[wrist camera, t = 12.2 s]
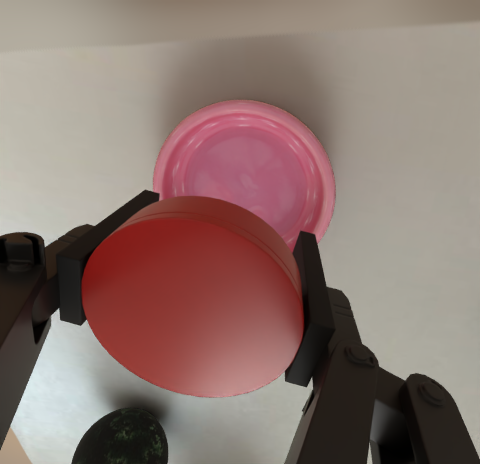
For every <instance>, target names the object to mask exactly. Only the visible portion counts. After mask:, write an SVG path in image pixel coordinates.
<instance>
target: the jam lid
mask: <svg viewBox="0 0 480 464" xmlns="http://www.w3.org/2000/svg"><path fill="white" fill-rule="evenodd" d="M82 305H83V309H84V313H85V316H86V318H87V321H88V323H89V326H90V327H91V329H92V331H93V333H94V335H95V336H96V338H97V339H98V340H99V342H100V343H101V345H102V346H103V347H104V348H105V349H106V350H107V352H108V353H109V354H110V355H111V356H112V357H113V358H114V359H116V360H117V361H118V362H119V363H120V364H121V365H123V366H124V367H125V368H126V369H128V370H129V371H131V372H132V373H134V374H135V375H137V376H139V377H140V378H142V379H144V380H146V381H148V382H150V383H152V384H154V385H157V386H159V387H161V388H164V389H167V390H170V391H173V392H177V393H181V394H185V395H191V396H198V397H229V396H236V395H240V394H245V393H248V392H251V391H254V390H257V389H259V388H261V387H263V386H265V385H267V384H269V383H271V382H272V381H273V380H275V379H276V378H278V377H279V376H280V375H281V374H282V373H283V372H284V371H286V369H287V368H288V367H289V366H290V364H291V363H292V362H293V360H294V358H295V356H296V354H297V351H298V349H299V347H300V344H301V342H302V339H303V333H304V311H303V299H302V287H301V279H300V273H299V269H298V266H297V263H296V261H295V258H294V256H293V254H292V252H291V251H290V249H289V247H288V246H287V244H286V243H285V242H284V240H283V239H282V237H281V236H280V235H279V234H278V233H277V232H276V231H275V230H274V229H273V228H272V227H271V226H270V225H269V224H267V223H266V222H265V221H264V220H263V219H261V218H260V217H258V216H257V215H255V214H253V213H252V212H250V211H249V210H247V209H244V208H242V207H240V206H238V205H236V204H233V203H230V202H227V201H224V200H221V199H216V198H211V197H205V196H178V197H173V198H168V199H164V200H161V201H158V202H155V203H152V204H150V205H148V206H147V207H145V208H143V209H141V210H140V211H138V212H137V213H136V214H134V215H133V216H132V217H131V218H129V219H128V220H127V221H126V222H125V223H123V224H122V225H121V226H120V227H119V228H117V229H116V230H115V231H114V232H113V233H112V234H110V235H109V236H108V237H107V238H106V239H104V240H103V241H102V242H101V244H100V245H99V246H98V247H97V248H96V249H95V250H94V252H93V253H92V255H91V256H90V258H89V260H88V262H87V264H86V267H85V269H84V273H83V277H82Z"/></svg>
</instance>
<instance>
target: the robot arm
mask: <svg viewBox="0 0 480 464" xmlns="http://www.w3.org/2000/svg"><path fill="white" fill-rule="evenodd" d="M159 197H160V193H156V192H152V191H148V190H144V191H143V192H142V193H140V194H139V195H137V196H136V197H135V198H133V199H132V200H130V201H129V202H128V203H126V204H125V205H123V206H122V207H121V208H119V209H118V210H116V211H115V212H114V213H112V214H111V215H110V216H108V217H107V218H105V219H104V220H103V221H101V222H100V223H98V224H97V225H96V226H92V225H89V224H86V225H82V226H79V227H76V228H74V229H72V230H71V231H69V232H67V233H66V234H65V235H63V236H61V237H60V238H58V240H55V241H54V242H52V243H51V244H49V245H48V246H46V247H45V246H44V240H43V238H42V237H41V236H39V235H37V234H34V233H28V232H16V233H10V234H5V235H2V236H0V450H1V447H2V445H3V442H4V440H5V437H6V435H7V432H8V430H9V428H10V425H11V423H12V420H13V418H14V415H15V413H16V410H17V408H18V405H19V403H20V401H21V398H22V396H23V393H24V391H25V388H26V386H27V383H28V381H29V378H30V376H31V373H32V371H33V369H34V366H35V364H36V361H37V359H38V356H39V354H40V351H41V349H42V346H43V344H44V342H45V339H46V337H47V334H48V332H49V329H50V327H51V315H52V314H53V313H54V312H55V311H56V310H57V309H58V308H59V310H60V320H62V321H66V322H69V323H73V324H77V325H80V326H81V325H82V324H83V323H84V322H85V321H86V320H87V318H86V316H85V313H84V309H83V305H82V277H83V273H84V269H85V267H86V264H87V262H88V260H89V258H90V256H91V255H92V253H93V252H94V250H95V249H96V248H97V247H98V246H99V245H100V244H101V242H102V241H103V240H104V239H106V238H107V237H108V236H109V235H110V234H112V233H113V232H114V231H115V230H116V229H117V228H119V227H120V226H121V225H122V224H123V223H125V222H126V221H127V220H128V219H129V218H131V217H132V216H133V215H134V214H136V213H137V212H138V211H140V210H141V209H143V208H145V207H147V206H148V205H150V204H152V203H155V202H158V201H159ZM292 254H293V256H294V258H295V261H296V263H297V266H298V269H299V273H300V279H301V287H302V299H303V311H304V333H303V339H302V342H301V344H300V347H299V349H298V351H297V354H296V356H295V358H294V360H293V362H292V363H291V364H290V366H289V367H288V368H287V369H286V371H285V382H289V383H293V384H296V385H300V386H304V387H307V386H308V384H309V382H310V380H311V378H312V379H313V390H312V392H311V394H310V396H309V398H308V400H307V402H306V404H305V406H304V408H303V410H302V411H303V415H302V417H301V420H300V423H299V425H298V428H297V431H296V434H295V436H294V439H293V442H292V444H291V447H290V450H289V453H288V455H287V458H286V461H285V463H284V464H367V457H368V450H369V442H370V447H371V455H372V463H373V464H480V459H479V456H478V454H477V452H476V449H475V447H474V445H473V442H472V440H471V438H470V435H469V433H468V431H467V428H466V426H465V424H464V421H463V419H462V417H461V414H460V412H459V410H458V407H457V405H456V403H455V401H454V399H453V398H452V396H451V395H450V394H449V392H448V391H447V390H446V389H445V388H444V387H443V386H442V385H440V384H439V383H438V382H436V381H435V380H434V379H431V378H429V377H427V376H425V375H422V374H417V373H415V374H410V376H409V377H408V378H407V379H406V381H405V380H403V379H401V378H399V377H397V376H395V375H393V374H391V373H389V372H387V371H386V370H384V369H382V368H381V367H379V364H378V360H377V358H376V357H375V355H374V353H373V352H372V351H371V350H370V349H369V348H368V347H366V346H365V345H363V344H362V342H361V338H360V335H359V332H358V329H357V325H356V322H355V319H354V318H353V317H354V316H353V312H352V311H351V306H350V303H349V300H348V298H347V297H346V296H345V295H344V293H343V292H342V291H341V290H337V289H333V288H330V287H327V286H326V282H325V277H324V273H323V268H322V263H321V259H320V254H319V249H318V245H317V240H316V236H315V234H313V233H309V232H305V231H301V230H300V233H299V236H298V238H297V241H296V244H295V247H294V250H293V252H292Z"/></svg>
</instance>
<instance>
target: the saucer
mask: <svg viewBox="0 0 480 464" xmlns="http://www.w3.org/2000/svg"><path fill="white" fill-rule="evenodd" d="M153 192H156V193H160V197H159V201H161V200H164V199H168V198H173V197H178V196H205V197H211V198H216V199H221V200H224V201H227V202H230V203H233V204H236V205H238V206H240V207H242V208H244V209H247V210H249V211H250V212H252V213H253V214H255V215H257V216H258V217H260V218H261V219H263V220H264V221H265V222H266V223H267V224H269V225H270V226H271V227H272V228H273V229H274V230H275V231H276V232H277V233H278V234H279V235H280V236H281V237H282V239H283V240H284V242H285V243H286V244H287V246H288V247H289V249H290V251H291V252H293V250H294V247H295V244H296V241H297V238H298V236H299V233H300V230H301V231H305V232H309V233H313V234H315V236H316V240H317V244H318V243H319V241H320V240H321V238H322V237H323V235H324V234H325V232H326V230H327V228H328V226H329V223H330V221H331V218H332V214H333V210H334V205H335V196H336V190H335V179H334V173H333V170H332V166H331V163H330V160H329V158H328V156H327V153H326V151H325V150H324V148H323V146H322V144H321V143H320V141H319V140H318V139H317V137H316V136H315V135H314V133H313V132H312V131H311V130H310V129H309V128H308V127H307V126H306V125H305V124H304V123H303V122H301V121H300V120H299V119H297V118H296V117H295V116H293V115H292V114H290V113H288V112H287V111H285V110H283V109H281V108H278V107H276V106H273V105H271V104H267V103H263V102H259V101H253V100H228V101H222V102H218V103H214V104H211V105H208V106H206V107H203V108H201V109H199V110H197V111H195V112H194V113H192V114H190V115H189V116H188V117H186V118H185V119H184V120H183V121H181V122H180V123H179V124H178V125H177V126H176V127H175V128H174V130H173V131H172V132H171V133H170V134H169V136H168V137H167V139H166V140H165V142H164V144H163V146H162V148H161V150H160V152H159V155H158V158H157V161H156V165H155V169H154V177H153Z"/></svg>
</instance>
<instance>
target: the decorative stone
mask: <svg viewBox="0 0 480 464" xmlns="http://www.w3.org/2000/svg"><path fill="white" fill-rule="evenodd" d="M167 463H168V443H167V438H166V435H165V432H164V430H163V428H162V426H161V424H160V423H159V422H158V420H157V419H156V418H155V417H154V416H153V415H152V414H150V413H149V412H147V411H145V410H141V409H136V408H125V409H120V410H116V411H114V412H111V413H109V414H107V415H106V416H104V417H102V418H101V419H99V420H98V421H97V422H95V423H94V424H93V425H92V426H91V427H90V428H89V430H88V431H87V432H86V433H85V434H84V436H83V437H82V439H81V440H80V442H79V444H78V446H77V448H76V451H75V453H74V456H73V459H72V463H71V464H167Z"/></svg>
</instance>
